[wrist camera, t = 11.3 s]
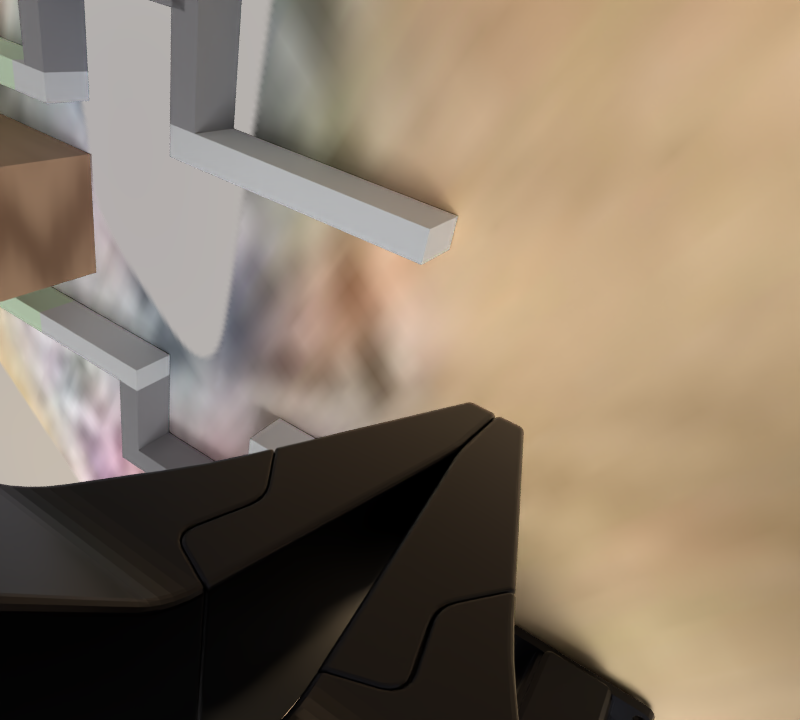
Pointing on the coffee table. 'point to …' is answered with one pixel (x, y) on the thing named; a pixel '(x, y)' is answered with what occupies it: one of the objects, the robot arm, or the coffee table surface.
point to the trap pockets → (189, 109)
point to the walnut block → (43, 211)
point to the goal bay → (47, 298)
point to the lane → (261, 174)
